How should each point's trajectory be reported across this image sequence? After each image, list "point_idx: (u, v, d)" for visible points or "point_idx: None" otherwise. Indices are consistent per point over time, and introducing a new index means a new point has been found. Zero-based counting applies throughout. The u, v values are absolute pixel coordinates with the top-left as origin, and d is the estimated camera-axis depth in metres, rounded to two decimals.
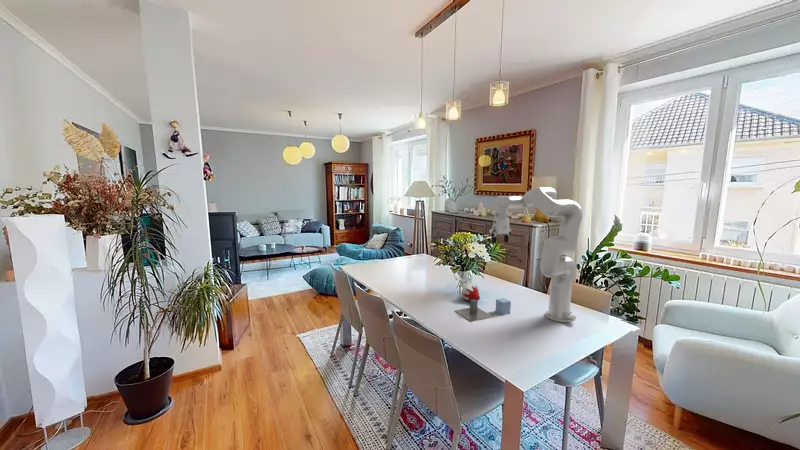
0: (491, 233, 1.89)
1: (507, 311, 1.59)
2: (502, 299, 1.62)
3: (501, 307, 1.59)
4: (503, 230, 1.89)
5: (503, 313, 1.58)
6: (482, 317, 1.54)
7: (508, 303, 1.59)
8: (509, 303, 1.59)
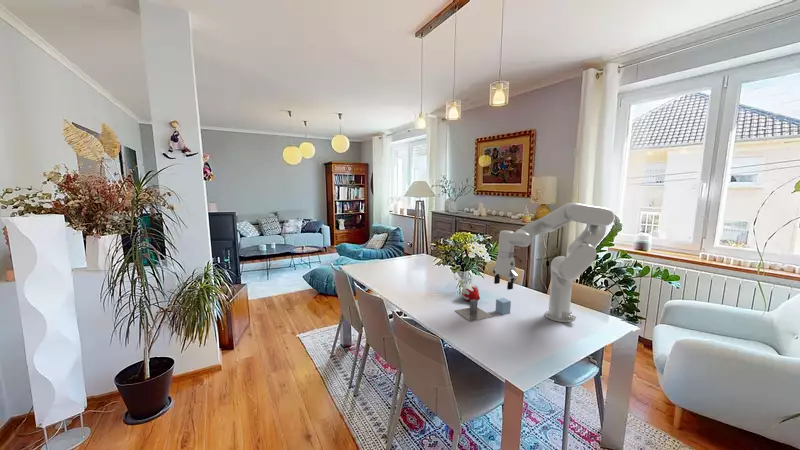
0: (515, 278, 1.52)
1: (507, 311, 1.59)
2: (502, 299, 1.62)
3: (501, 307, 1.59)
4: None
5: (503, 313, 1.58)
6: (482, 317, 1.54)
7: (508, 303, 1.59)
8: (509, 303, 1.59)
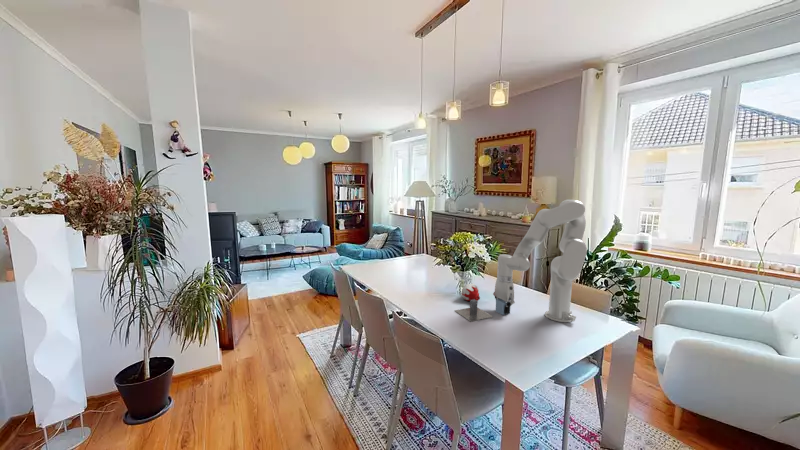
0: (511, 303, 1.56)
1: None
2: None
3: (501, 307, 1.59)
4: None
5: (503, 313, 1.58)
6: (482, 317, 1.54)
7: None
8: None
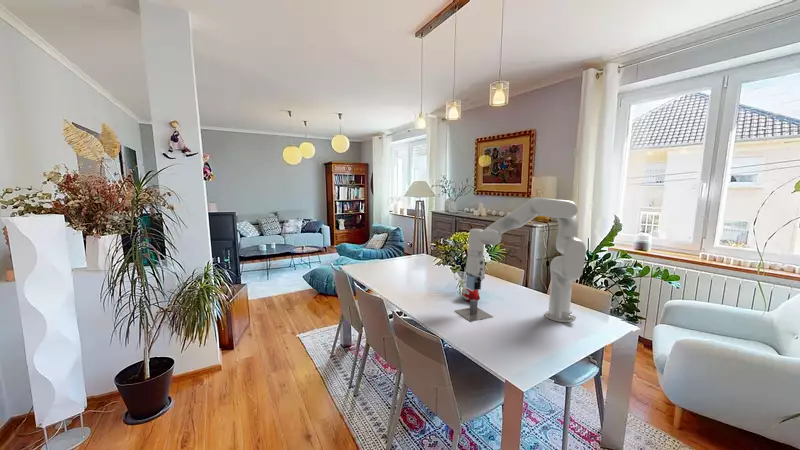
0: None
1: None
2: (473, 275, 1.58)
3: (471, 282, 1.54)
4: None
5: (473, 289, 1.54)
6: (482, 317, 1.54)
7: None
8: None
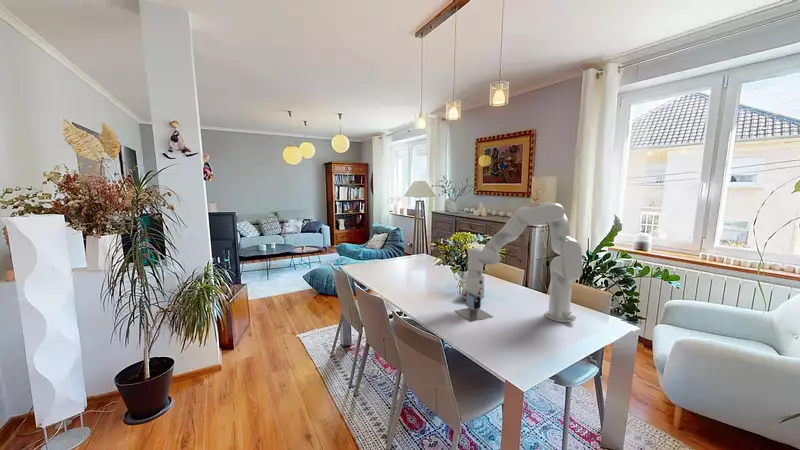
0: None
1: None
2: None
3: (471, 302, 1.55)
4: None
5: (473, 308, 1.55)
6: (482, 317, 1.54)
7: None
8: None
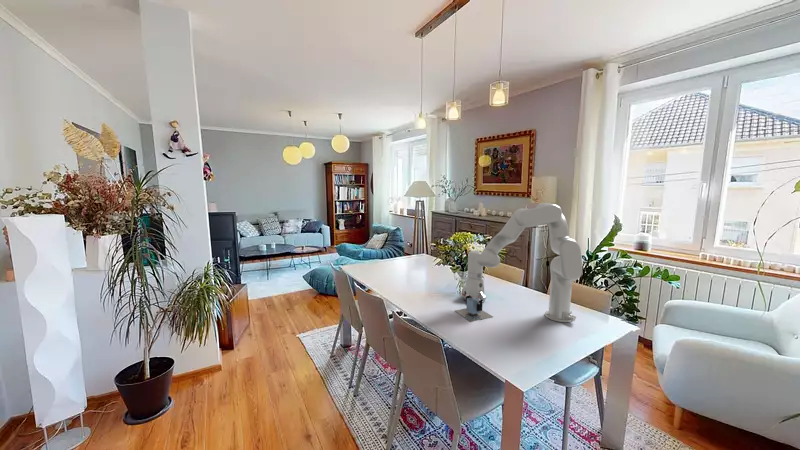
0: (484, 300, 1.51)
1: None
2: (473, 298, 1.59)
3: (471, 306, 1.56)
4: None
5: (473, 312, 1.55)
6: (482, 317, 1.54)
7: None
8: None
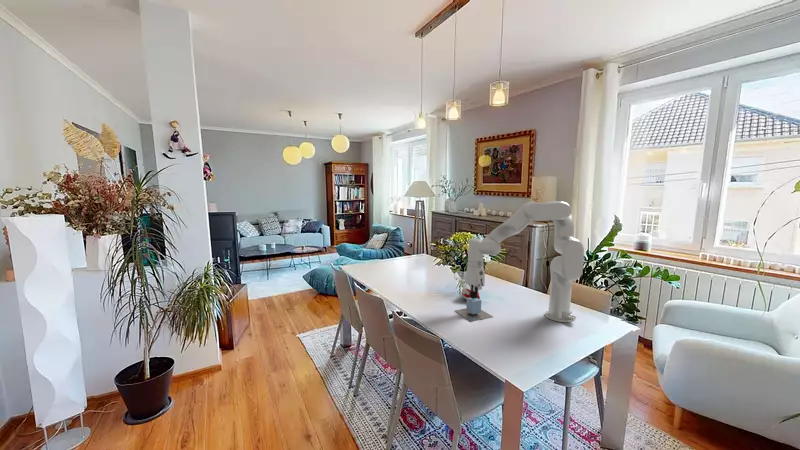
0: None
1: (477, 310, 1.56)
2: None
3: (471, 306, 1.56)
4: None
5: (473, 312, 1.55)
6: (482, 317, 1.54)
7: (478, 302, 1.56)
8: (479, 302, 1.56)
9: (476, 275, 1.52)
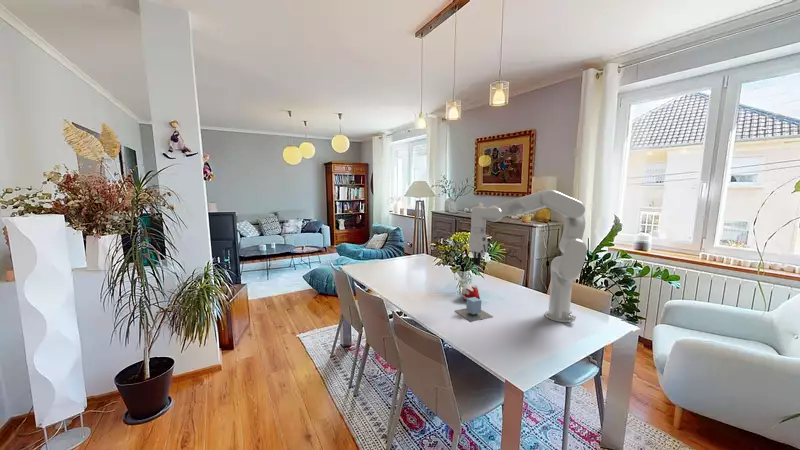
0: None
1: (477, 310, 1.56)
2: (473, 298, 1.59)
3: (471, 306, 1.56)
4: None
5: (473, 312, 1.55)
6: (482, 317, 1.54)
7: (478, 302, 1.56)
8: (479, 302, 1.56)
9: (479, 241, 1.55)
